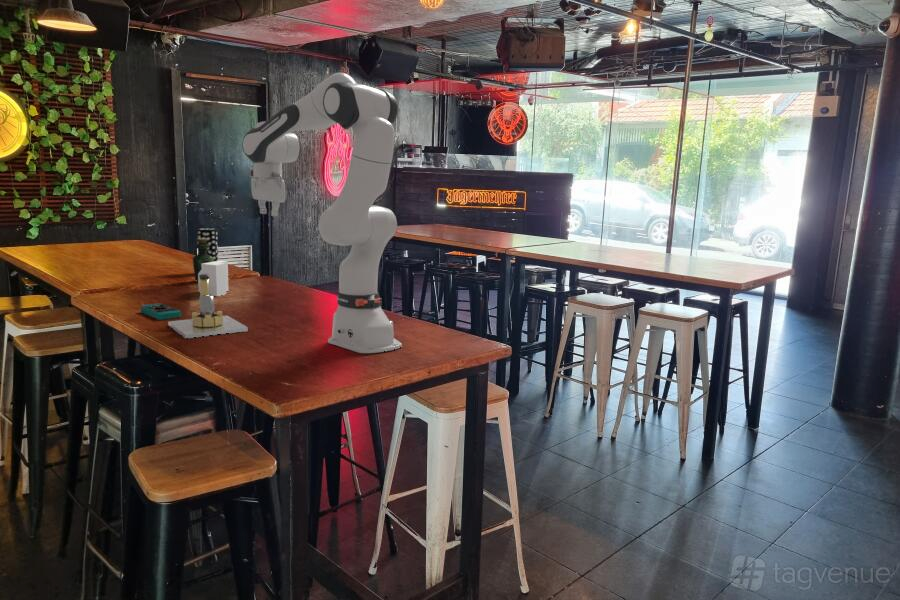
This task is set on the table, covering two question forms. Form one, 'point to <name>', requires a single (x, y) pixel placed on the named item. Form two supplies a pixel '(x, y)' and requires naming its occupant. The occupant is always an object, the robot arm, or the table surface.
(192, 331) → the spigot base
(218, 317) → the brass metal fixture
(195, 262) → the potion bottle
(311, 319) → the table surface
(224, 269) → the corner bracket
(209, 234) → the white-spotted black cylinder
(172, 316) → the digital multimeter
